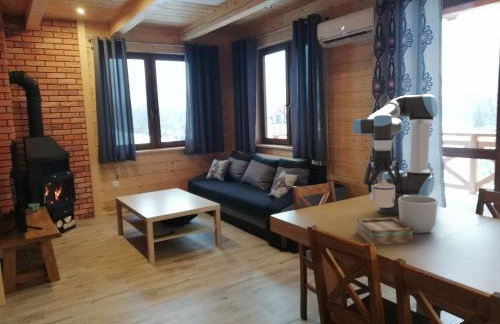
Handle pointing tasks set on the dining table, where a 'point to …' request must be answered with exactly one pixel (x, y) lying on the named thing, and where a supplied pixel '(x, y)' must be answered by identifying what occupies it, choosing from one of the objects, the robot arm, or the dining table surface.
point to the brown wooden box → (384, 231)
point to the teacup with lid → (384, 194)
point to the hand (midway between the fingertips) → (382, 199)
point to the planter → (418, 212)
